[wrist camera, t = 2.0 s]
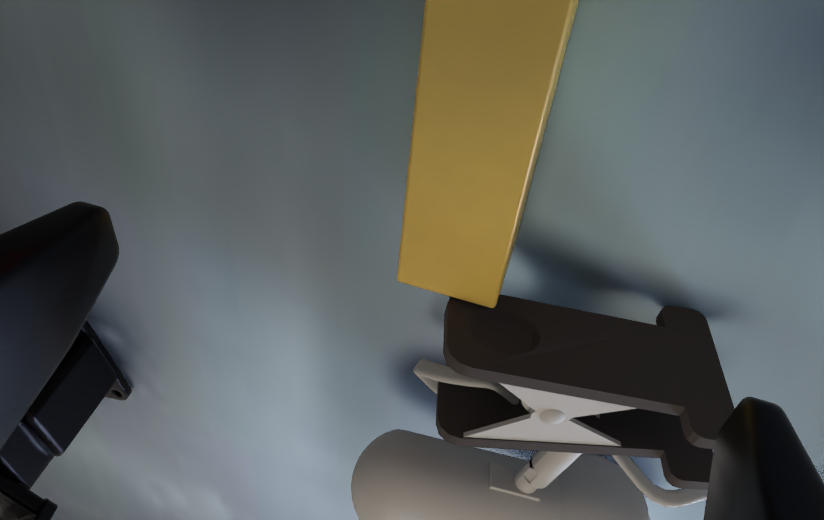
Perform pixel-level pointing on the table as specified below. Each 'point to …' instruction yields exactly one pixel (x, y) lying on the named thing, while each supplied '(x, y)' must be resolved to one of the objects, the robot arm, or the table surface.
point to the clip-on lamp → (553, 418)
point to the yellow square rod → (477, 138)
